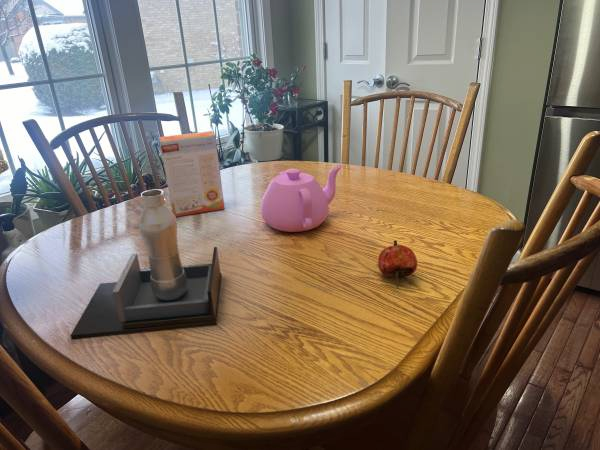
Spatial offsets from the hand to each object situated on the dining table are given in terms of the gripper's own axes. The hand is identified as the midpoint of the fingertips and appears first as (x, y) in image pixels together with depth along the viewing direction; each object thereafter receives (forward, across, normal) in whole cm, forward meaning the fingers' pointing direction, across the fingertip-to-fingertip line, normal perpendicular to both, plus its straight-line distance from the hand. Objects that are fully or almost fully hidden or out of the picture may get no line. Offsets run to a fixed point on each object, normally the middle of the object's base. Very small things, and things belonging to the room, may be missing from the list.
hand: (3, 167), depth 73 cm
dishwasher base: (+21, +6, -26) cm, 34 cm away
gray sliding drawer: (+25, +6, -25) cm, 36 cm away
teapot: (+53, -26, -26) cm, 65 cm away
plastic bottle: (+25, +6, -25) cm, 35 cm away
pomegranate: (+68, +5, -26) cm, 73 cm away
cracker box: (+25, -39, -26) cm, 53 cm away
